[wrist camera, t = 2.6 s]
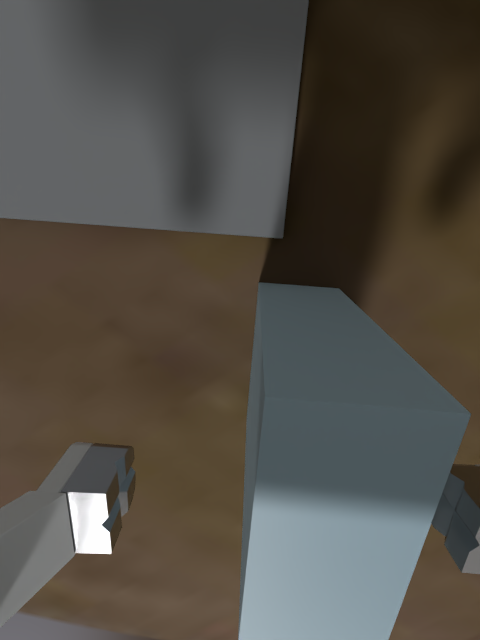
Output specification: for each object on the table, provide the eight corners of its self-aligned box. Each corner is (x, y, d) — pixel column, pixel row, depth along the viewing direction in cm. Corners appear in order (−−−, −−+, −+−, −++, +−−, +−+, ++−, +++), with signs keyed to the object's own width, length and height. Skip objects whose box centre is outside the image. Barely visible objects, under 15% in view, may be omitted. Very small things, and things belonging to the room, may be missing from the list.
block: (338, 288, 14) (471, 414, 5) (315, 422, 16) (381, 657, 8) (258, 282, 14) (265, 396, 5) (246, 416, 16) (237, 642, 8)
